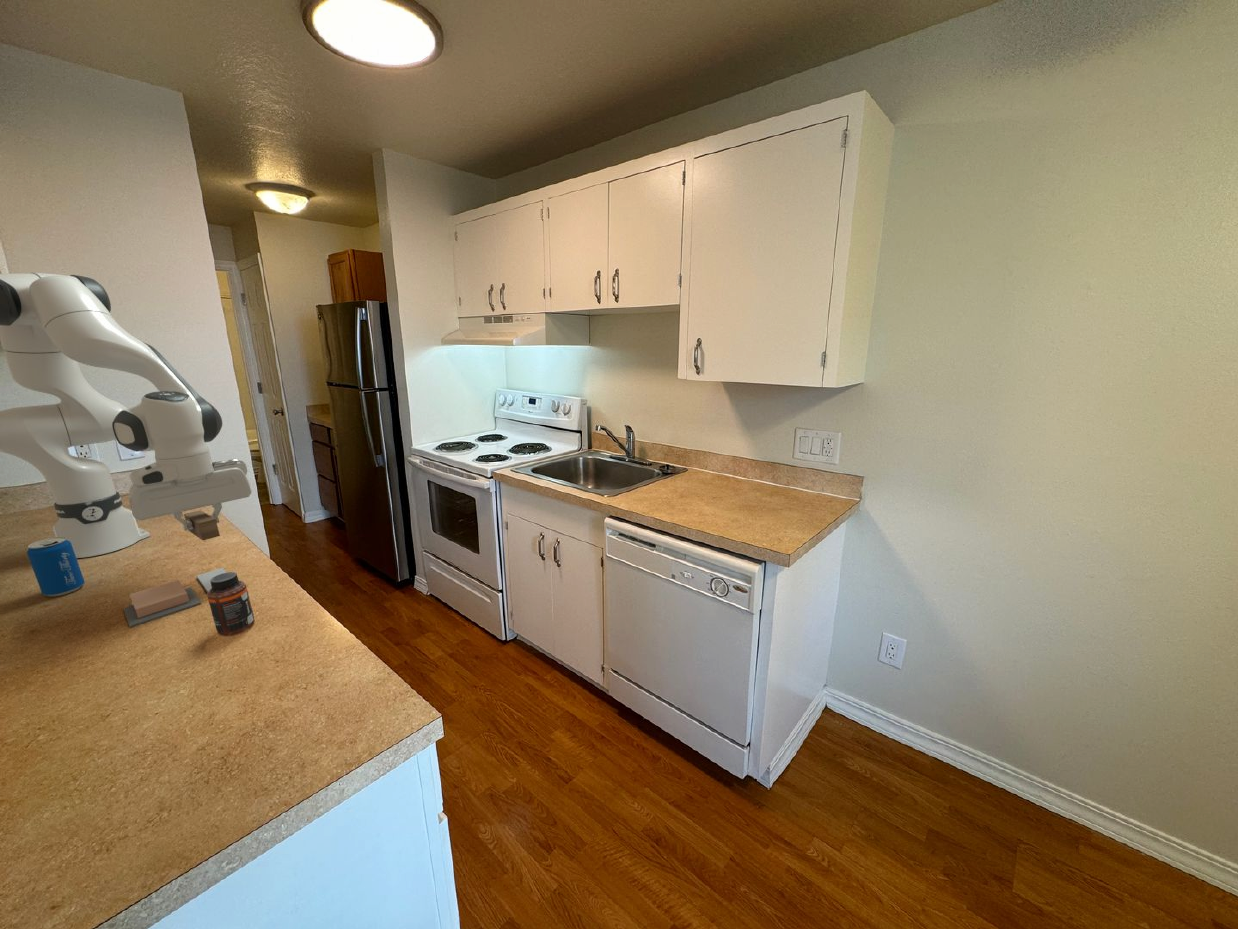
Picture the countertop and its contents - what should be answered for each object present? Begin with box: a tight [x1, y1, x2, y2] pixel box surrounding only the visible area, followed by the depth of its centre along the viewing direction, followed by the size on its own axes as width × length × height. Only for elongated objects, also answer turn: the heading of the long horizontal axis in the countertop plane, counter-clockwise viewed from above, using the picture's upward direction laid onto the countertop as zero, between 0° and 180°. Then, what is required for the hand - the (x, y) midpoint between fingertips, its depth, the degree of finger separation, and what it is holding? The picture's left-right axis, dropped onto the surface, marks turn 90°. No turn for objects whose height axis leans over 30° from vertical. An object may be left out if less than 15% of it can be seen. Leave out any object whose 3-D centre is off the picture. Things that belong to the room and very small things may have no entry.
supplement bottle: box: [207, 571, 255, 637], centre depth 94 cm, size 6×6×11 cm
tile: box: [129, 579, 189, 618], centre depth 103 cm, size 2×8×9 cm
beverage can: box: [26, 536, 86, 598], centre depth 108 cm, size 6×6×12 cm
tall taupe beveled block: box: [183, 509, 221, 541], centre depth 109 cm, size 10×3×4 cm, turn 55°
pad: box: [196, 567, 228, 593], centre depth 113 cm, size 12×5×1 cm, turn 50°
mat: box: [122, 586, 202, 628], centre depth 103 cm, size 10×11×1 cm
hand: (201, 526), depth 109 cm, fingers closed on tall taupe beveled block, 3 cm apart
